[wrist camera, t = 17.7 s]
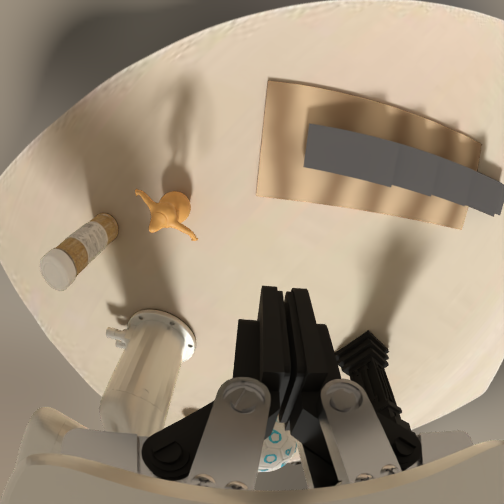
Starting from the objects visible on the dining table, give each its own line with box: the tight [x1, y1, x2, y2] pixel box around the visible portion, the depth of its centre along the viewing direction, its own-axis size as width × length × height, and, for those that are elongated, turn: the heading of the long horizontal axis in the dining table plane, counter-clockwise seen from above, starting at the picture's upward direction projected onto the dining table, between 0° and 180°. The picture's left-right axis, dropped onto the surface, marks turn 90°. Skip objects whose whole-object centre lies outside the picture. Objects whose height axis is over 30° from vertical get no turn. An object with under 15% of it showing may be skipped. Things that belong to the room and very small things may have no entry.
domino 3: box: [432, 157, 473, 206], centre depth 27 cm, size 2×5×10 cm
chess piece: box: [335, 330, 416, 435], centre depth 36 cm, size 8×8×20 cm
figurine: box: [135, 189, 198, 241], centre depth 28 cm, size 8×6×12 cm
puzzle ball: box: [258, 416, 297, 472], centre depth 49 cm, size 15×15×15 cm
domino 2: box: [392, 144, 440, 197], centre depth 27 cm, size 2×5×10 cm
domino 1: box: [303, 123, 400, 187], centre depth 27 cm, size 2×5×10 cm
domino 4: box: [465, 170, 502, 217], centre depth 27 cm, size 2×5×10 cm
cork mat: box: [256, 81, 482, 230], centre depth 29 cm, size 32×14×1 cm, turn 85°
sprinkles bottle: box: [40, 213, 118, 291], centre depth 29 cm, size 5×5×14 cm
